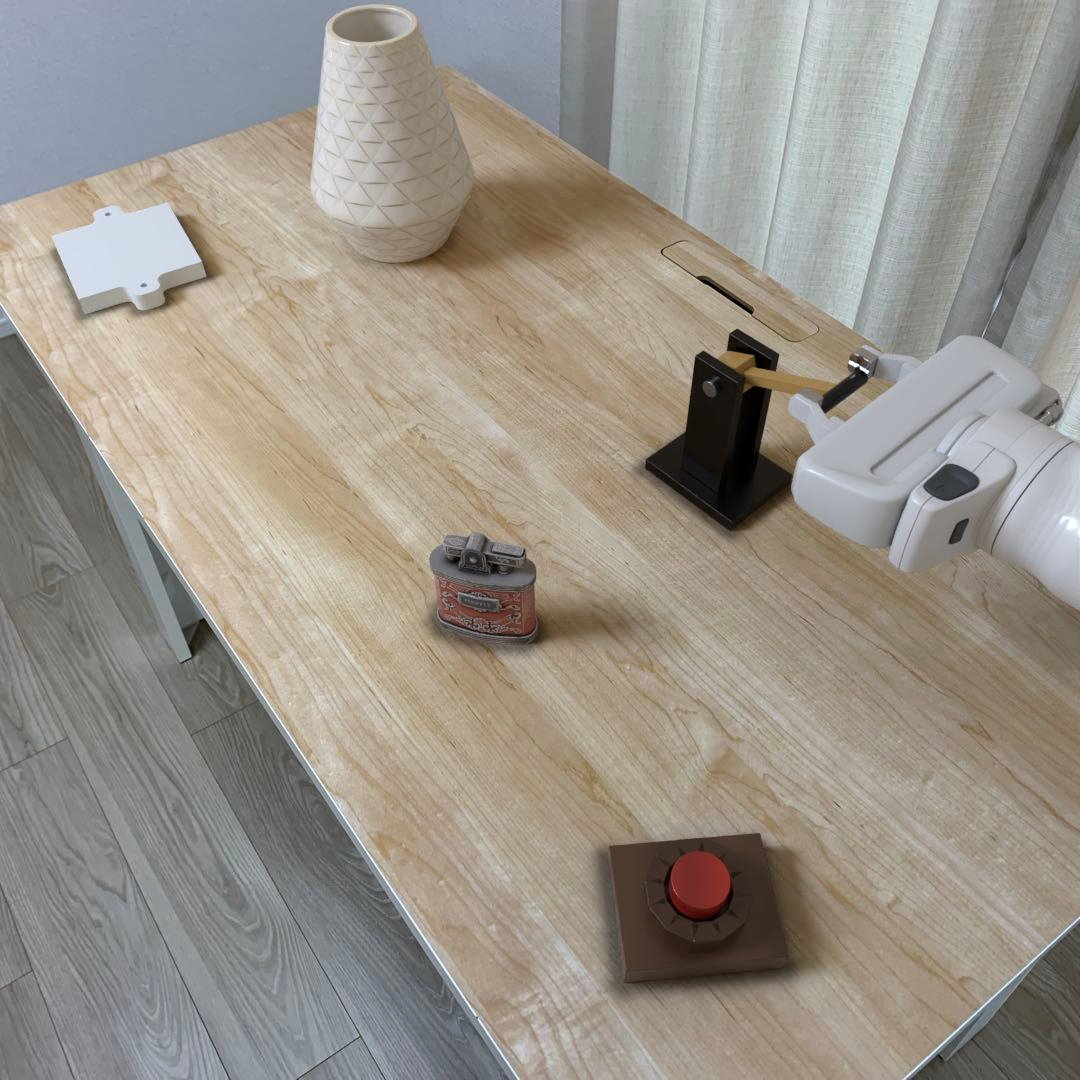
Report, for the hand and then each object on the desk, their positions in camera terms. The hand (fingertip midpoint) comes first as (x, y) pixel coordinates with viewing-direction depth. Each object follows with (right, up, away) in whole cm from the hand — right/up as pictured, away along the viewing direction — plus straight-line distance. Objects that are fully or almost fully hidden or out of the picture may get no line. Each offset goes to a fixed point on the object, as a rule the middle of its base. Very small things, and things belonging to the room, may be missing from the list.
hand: (824, 377), depth 76 cm
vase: (-36, +22, +41) cm, 59 cm away
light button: (-11, -33, -11) cm, 37 cm away
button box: (-11, -36, -8) cm, 38 cm away
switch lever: (-2, -1, +5) cm, 5 cm away
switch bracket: (-5, -6, +17) cm, 18 cm away
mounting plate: (-65, +18, +38) cm, 78 cm away
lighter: (-25, -18, +7) cm, 32 cm away
